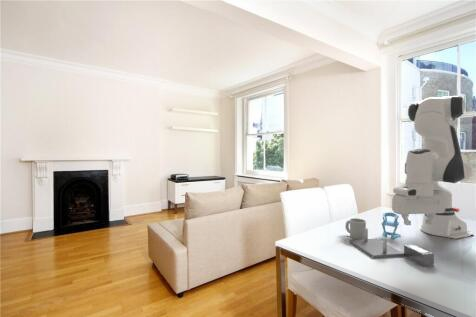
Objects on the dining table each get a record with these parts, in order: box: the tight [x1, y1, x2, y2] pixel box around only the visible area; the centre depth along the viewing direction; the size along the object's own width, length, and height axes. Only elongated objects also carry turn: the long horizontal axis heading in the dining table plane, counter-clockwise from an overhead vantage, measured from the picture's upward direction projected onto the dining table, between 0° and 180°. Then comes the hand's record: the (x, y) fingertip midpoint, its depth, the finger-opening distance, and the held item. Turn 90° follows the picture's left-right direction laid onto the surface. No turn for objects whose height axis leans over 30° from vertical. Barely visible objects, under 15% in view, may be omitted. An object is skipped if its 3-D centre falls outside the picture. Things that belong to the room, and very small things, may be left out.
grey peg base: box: [349, 227, 404, 259], centre depth 106 cm, size 14×17×7 cm
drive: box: [403, 244, 435, 268], centre depth 94 cm, size 4×9×5 cm, turn 6°
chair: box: [381, 212, 401, 240], centre depth 120 cm, size 8×8×12 cm
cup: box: [345, 217, 367, 240], centre depth 120 cm, size 7×10×9 cm
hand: (418, 224), depth 93 cm, fingers open, 8 cm apart
